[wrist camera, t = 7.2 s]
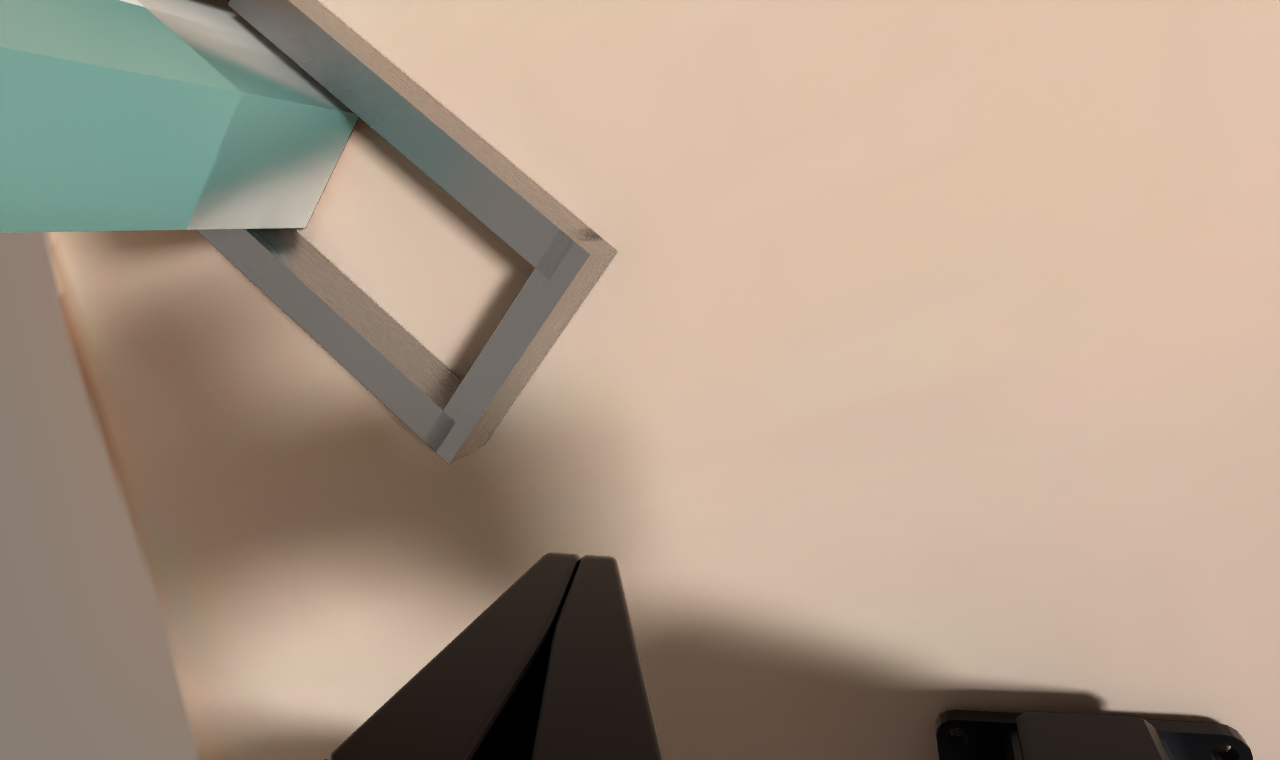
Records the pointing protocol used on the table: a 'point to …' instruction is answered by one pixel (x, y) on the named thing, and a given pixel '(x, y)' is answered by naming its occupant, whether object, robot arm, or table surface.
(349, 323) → the rails
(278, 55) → the teal block
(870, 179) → the table surface
